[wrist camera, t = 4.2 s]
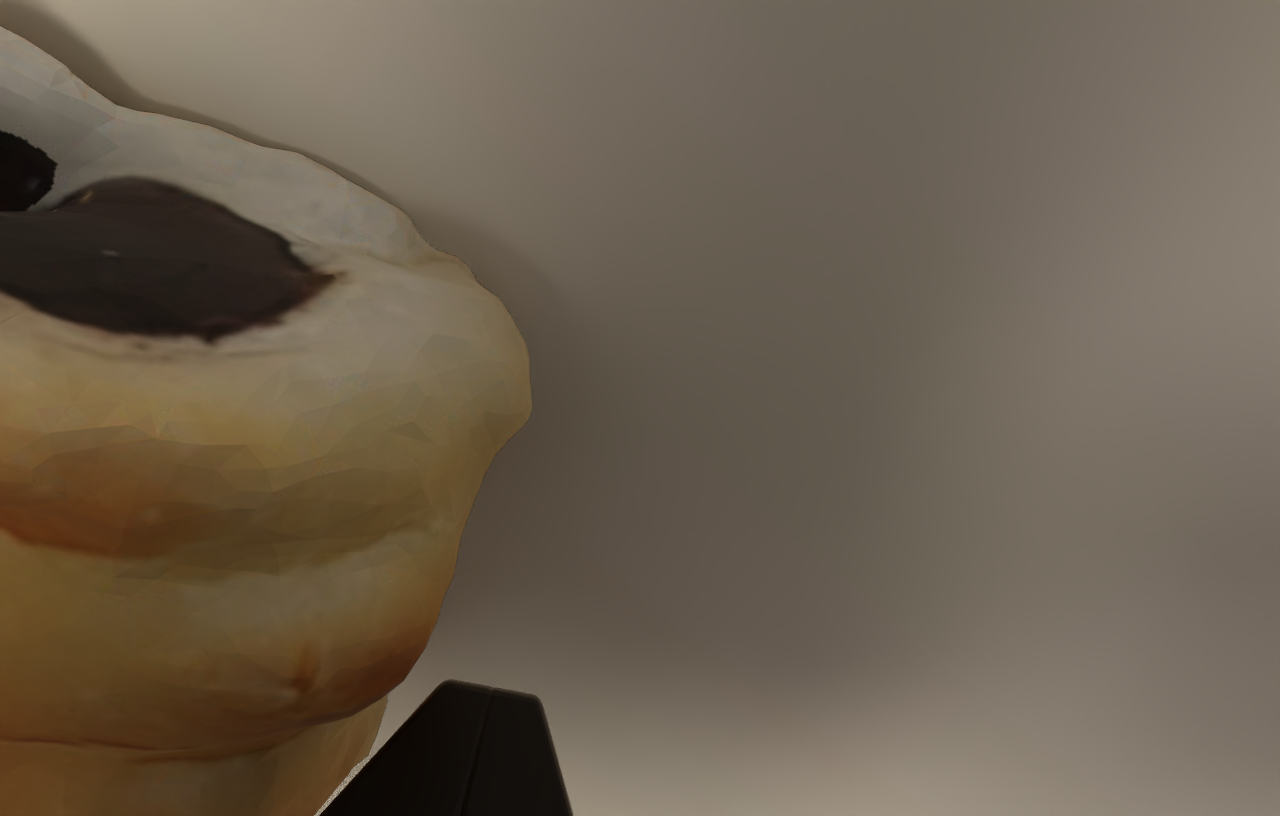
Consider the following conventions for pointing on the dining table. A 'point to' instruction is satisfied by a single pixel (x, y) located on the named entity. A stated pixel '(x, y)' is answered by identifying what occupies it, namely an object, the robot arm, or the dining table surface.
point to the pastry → (218, 457)
